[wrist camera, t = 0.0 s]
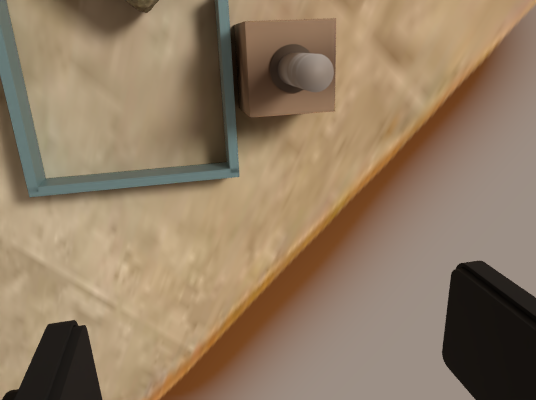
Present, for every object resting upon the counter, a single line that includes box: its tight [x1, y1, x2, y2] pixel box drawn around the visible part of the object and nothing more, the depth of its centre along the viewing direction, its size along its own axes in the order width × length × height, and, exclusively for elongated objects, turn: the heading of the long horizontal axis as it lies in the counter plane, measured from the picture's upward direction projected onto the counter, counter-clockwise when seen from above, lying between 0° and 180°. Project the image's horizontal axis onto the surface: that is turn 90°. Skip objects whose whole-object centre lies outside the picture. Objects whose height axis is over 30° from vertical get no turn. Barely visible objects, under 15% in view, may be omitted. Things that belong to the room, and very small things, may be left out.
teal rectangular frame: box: [0, 0, 239, 197], centre depth 36 cm, size 15×18×2 cm
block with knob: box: [234, 18, 336, 117], centre depth 34 cm, size 7×7×12 cm
